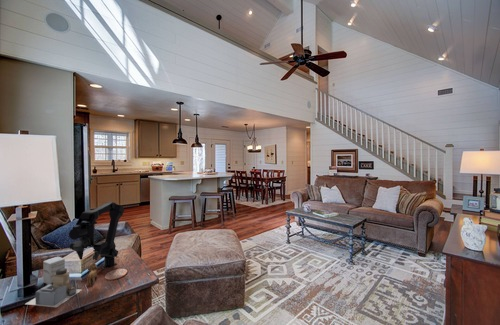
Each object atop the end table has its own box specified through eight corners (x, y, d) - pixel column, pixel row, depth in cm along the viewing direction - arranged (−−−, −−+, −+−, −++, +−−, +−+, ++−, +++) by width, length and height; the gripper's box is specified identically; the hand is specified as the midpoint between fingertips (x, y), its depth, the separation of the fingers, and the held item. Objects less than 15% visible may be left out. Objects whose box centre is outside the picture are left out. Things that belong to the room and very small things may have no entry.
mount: (53, 289, 120) (53, 274, 119) (82, 291, 118) (82, 277, 118) (24, 306, 106) (24, 290, 105) (56, 309, 104) (56, 293, 104)
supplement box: (42, 282, 125) (42, 261, 125) (58, 276, 132) (58, 255, 132) (49, 286, 122) (49, 263, 122) (65, 279, 129) (65, 258, 129)
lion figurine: (86, 277, 131) (86, 262, 131) (97, 275, 135) (97, 260, 134) (86, 290, 120) (86, 273, 119) (98, 286, 123) (98, 270, 122)
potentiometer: (71, 291, 116) (72, 285, 116) (78, 292, 116) (78, 285, 116) (65, 295, 112) (65, 289, 112) (72, 296, 112) (72, 289, 112)
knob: (61, 290, 116) (61, 267, 116) (69, 291, 115) (69, 268, 115) (52, 296, 112) (52, 272, 111) (61, 296, 111) (61, 272, 111)
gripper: (60, 237, 121) (60, 265, 121) (93, 238, 120) (93, 267, 120) (77, 230, 132) (77, 256, 132) (107, 232, 131) (107, 258, 131)
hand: (88, 259), depth 129 cm, fingers open, 9 cm apart
